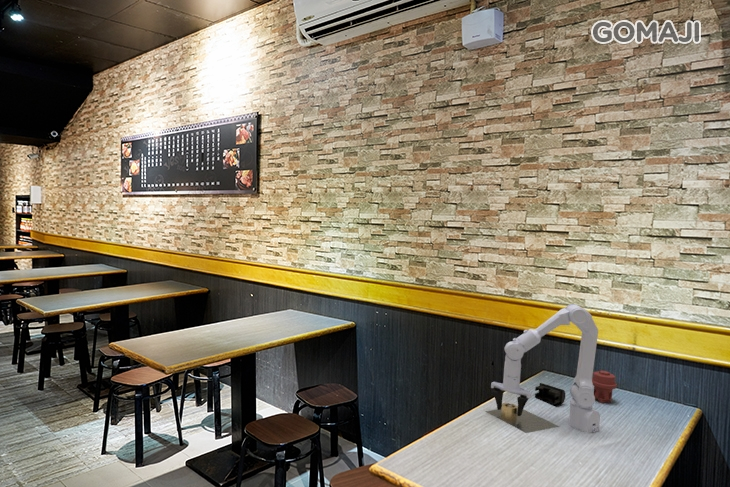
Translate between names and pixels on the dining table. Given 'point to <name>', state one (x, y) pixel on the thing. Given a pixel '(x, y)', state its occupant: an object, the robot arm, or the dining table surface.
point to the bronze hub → (509, 411)
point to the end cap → (550, 394)
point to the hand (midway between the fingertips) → (509, 412)
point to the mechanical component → (603, 385)
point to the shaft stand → (525, 421)
